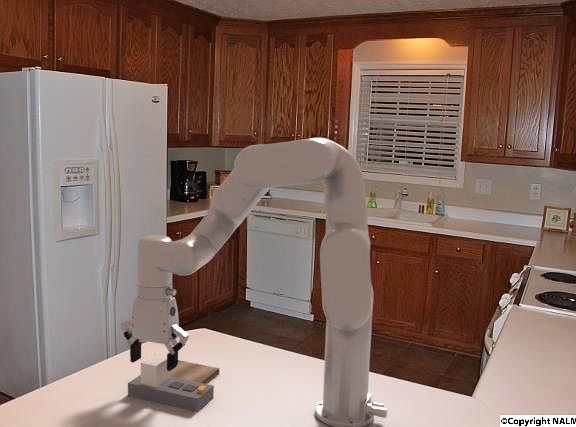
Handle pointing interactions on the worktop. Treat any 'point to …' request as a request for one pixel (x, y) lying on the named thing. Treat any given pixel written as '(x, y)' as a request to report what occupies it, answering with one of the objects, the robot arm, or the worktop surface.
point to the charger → (154, 371)
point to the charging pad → (194, 372)
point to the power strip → (174, 393)
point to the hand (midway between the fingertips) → (153, 364)
